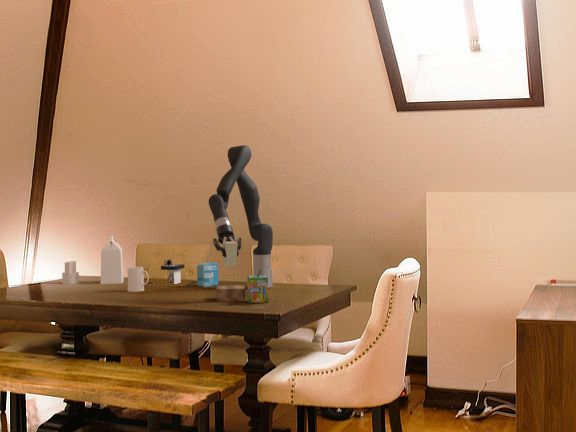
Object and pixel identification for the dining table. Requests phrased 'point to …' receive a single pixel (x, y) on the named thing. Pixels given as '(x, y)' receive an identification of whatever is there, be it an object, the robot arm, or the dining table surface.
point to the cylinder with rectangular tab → (70, 273)
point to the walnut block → (230, 293)
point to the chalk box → (257, 289)
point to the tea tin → (230, 254)
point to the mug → (136, 279)
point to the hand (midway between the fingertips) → (231, 255)
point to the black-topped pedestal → (174, 272)
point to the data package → (207, 274)
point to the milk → (112, 263)
